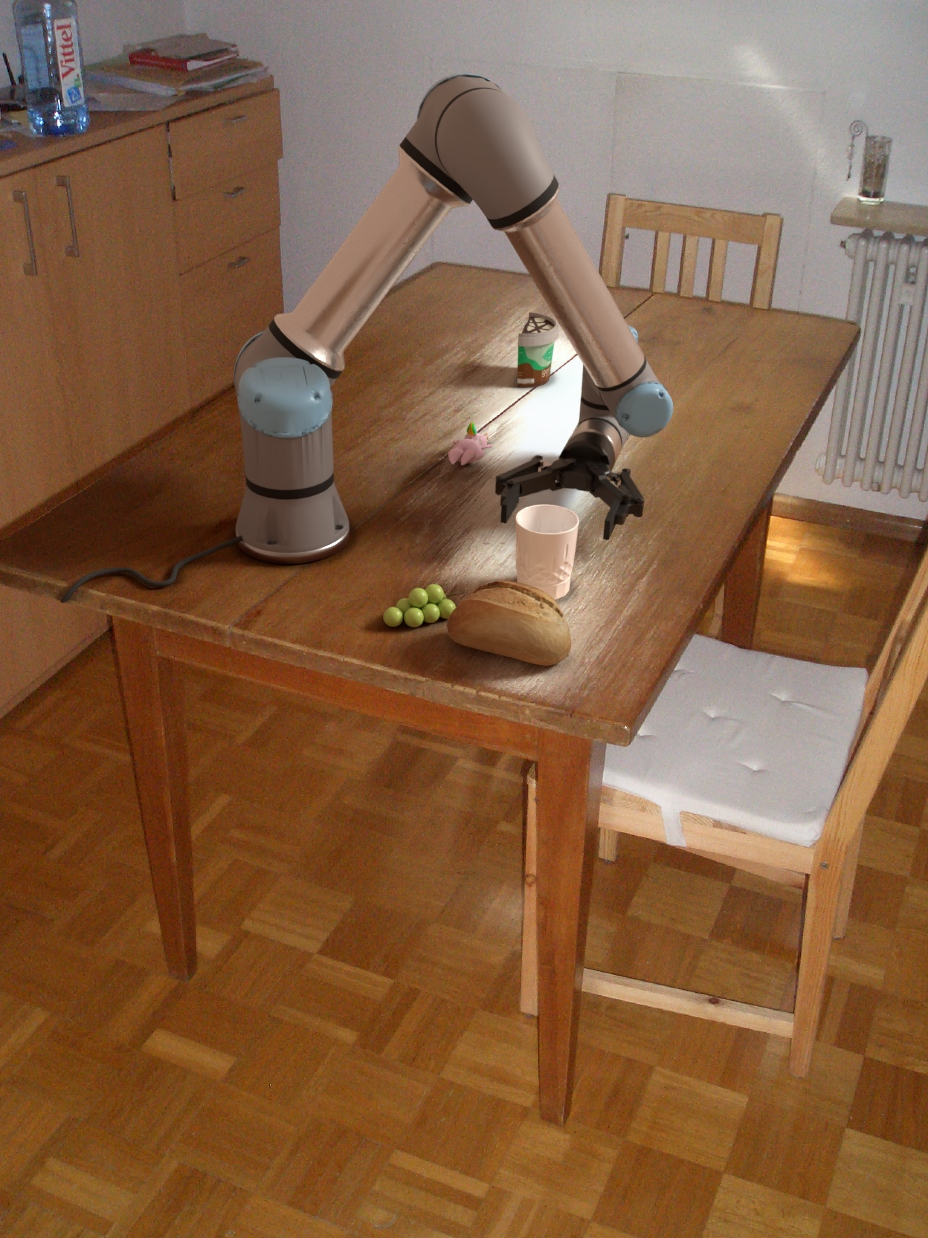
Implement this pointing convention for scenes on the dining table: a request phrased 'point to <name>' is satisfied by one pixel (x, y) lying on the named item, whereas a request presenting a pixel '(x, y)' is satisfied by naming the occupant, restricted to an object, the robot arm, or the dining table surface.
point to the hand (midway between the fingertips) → (554, 522)
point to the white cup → (546, 547)
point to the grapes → (421, 607)
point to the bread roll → (512, 623)
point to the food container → (536, 350)
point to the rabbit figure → (469, 447)
